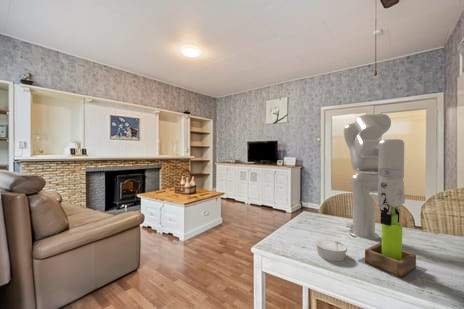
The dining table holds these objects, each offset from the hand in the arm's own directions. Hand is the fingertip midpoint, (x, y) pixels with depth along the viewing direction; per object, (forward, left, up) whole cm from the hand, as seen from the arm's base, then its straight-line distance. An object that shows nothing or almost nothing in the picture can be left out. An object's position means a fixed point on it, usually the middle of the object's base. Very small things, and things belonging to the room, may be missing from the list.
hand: (390, 222), depth 77 cm
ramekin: (-16, -11, -17) cm, 26 cm away
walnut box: (0, 0, -16) cm, 16 cm away
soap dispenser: (0, 0, -14) cm, 14 cm away
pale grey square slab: (0, +1, -17) cm, 17 cm away
